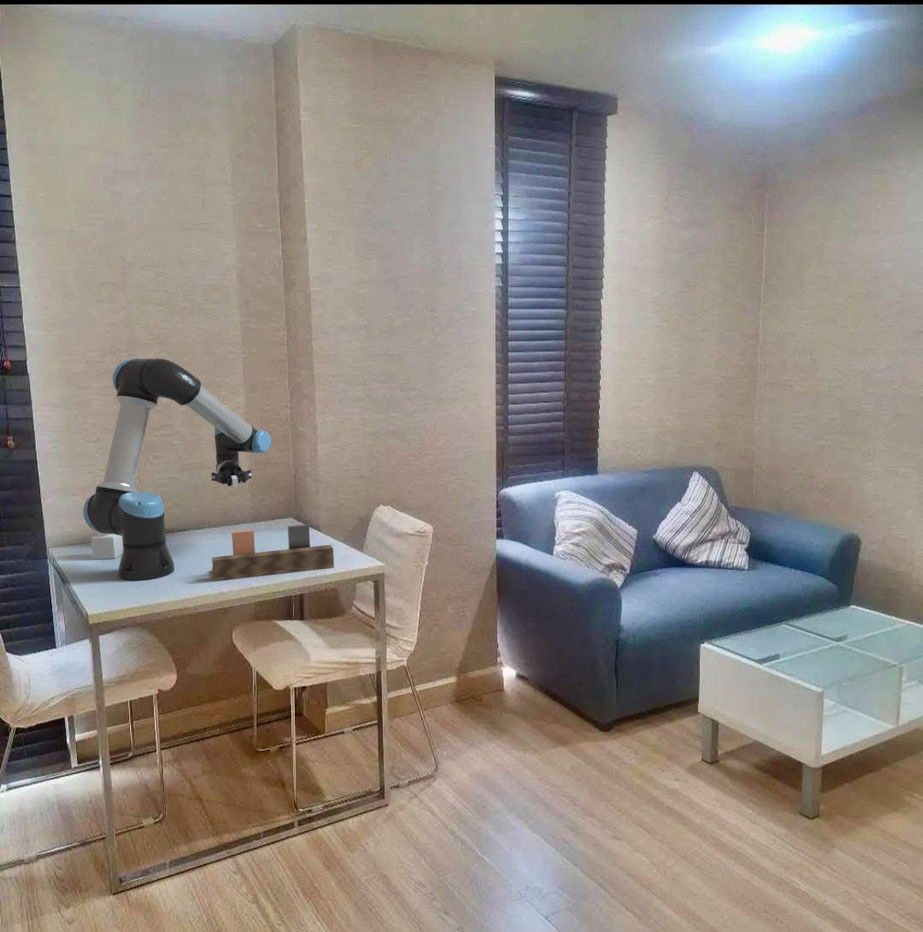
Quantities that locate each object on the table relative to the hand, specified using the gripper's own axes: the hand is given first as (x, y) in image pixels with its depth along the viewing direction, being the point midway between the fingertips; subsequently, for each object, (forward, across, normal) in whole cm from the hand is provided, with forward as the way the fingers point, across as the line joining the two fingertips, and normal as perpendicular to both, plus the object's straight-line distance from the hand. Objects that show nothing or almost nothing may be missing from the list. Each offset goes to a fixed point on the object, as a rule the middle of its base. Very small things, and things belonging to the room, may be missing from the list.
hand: (235, 482), depth 239 cm
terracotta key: (+17, 0, -23) cm, 28 cm away
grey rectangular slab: (+17, -16, -23) cm, 33 cm away
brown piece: (+17, -8, -24) cm, 31 cm away
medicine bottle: (-20, +39, -24) cm, 50 cm away
